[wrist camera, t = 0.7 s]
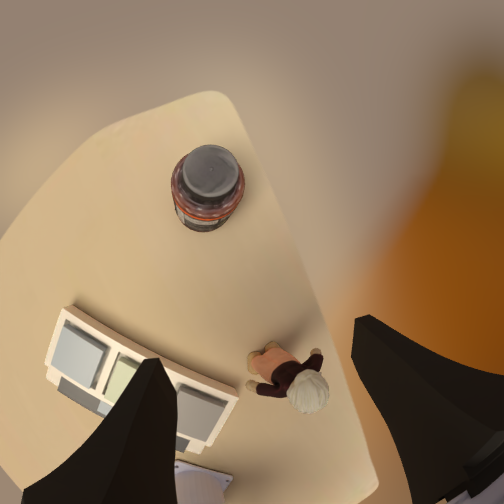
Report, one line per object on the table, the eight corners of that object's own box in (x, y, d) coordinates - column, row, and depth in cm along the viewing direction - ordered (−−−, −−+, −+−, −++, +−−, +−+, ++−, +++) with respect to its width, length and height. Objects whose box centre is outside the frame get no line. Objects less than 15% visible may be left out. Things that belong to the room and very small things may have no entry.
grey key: (204, 435, 25) (205, 442, 24) (163, 419, 24) (162, 426, 23) (223, 402, 26) (225, 408, 24) (180, 385, 25) (180, 390, 24)
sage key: (148, 413, 24) (146, 419, 23) (107, 392, 23) (103, 397, 22) (164, 378, 25) (163, 383, 23) (121, 356, 24) (118, 360, 23)
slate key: (93, 384, 23) (89, 389, 22) (55, 360, 22) (50, 364, 21) (107, 347, 24) (103, 351, 22) (68, 323, 23) (63, 325, 22)
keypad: (199, 450, 27) (200, 462, 24) (49, 375, 24) (39, 383, 21) (234, 387, 29) (238, 397, 26) (72, 305, 25) (62, 307, 23)
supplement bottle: (189, 171, 29) (192, 119, 18) (238, 192, 31) (266, 151, 20) (166, 220, 29) (153, 189, 18) (217, 242, 30) (234, 224, 19)
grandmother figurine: (251, 387, 29) (288, 446, 17) (231, 363, 29) (260, 417, 17) (304, 347, 31) (366, 383, 19) (287, 322, 31) (346, 349, 18)
